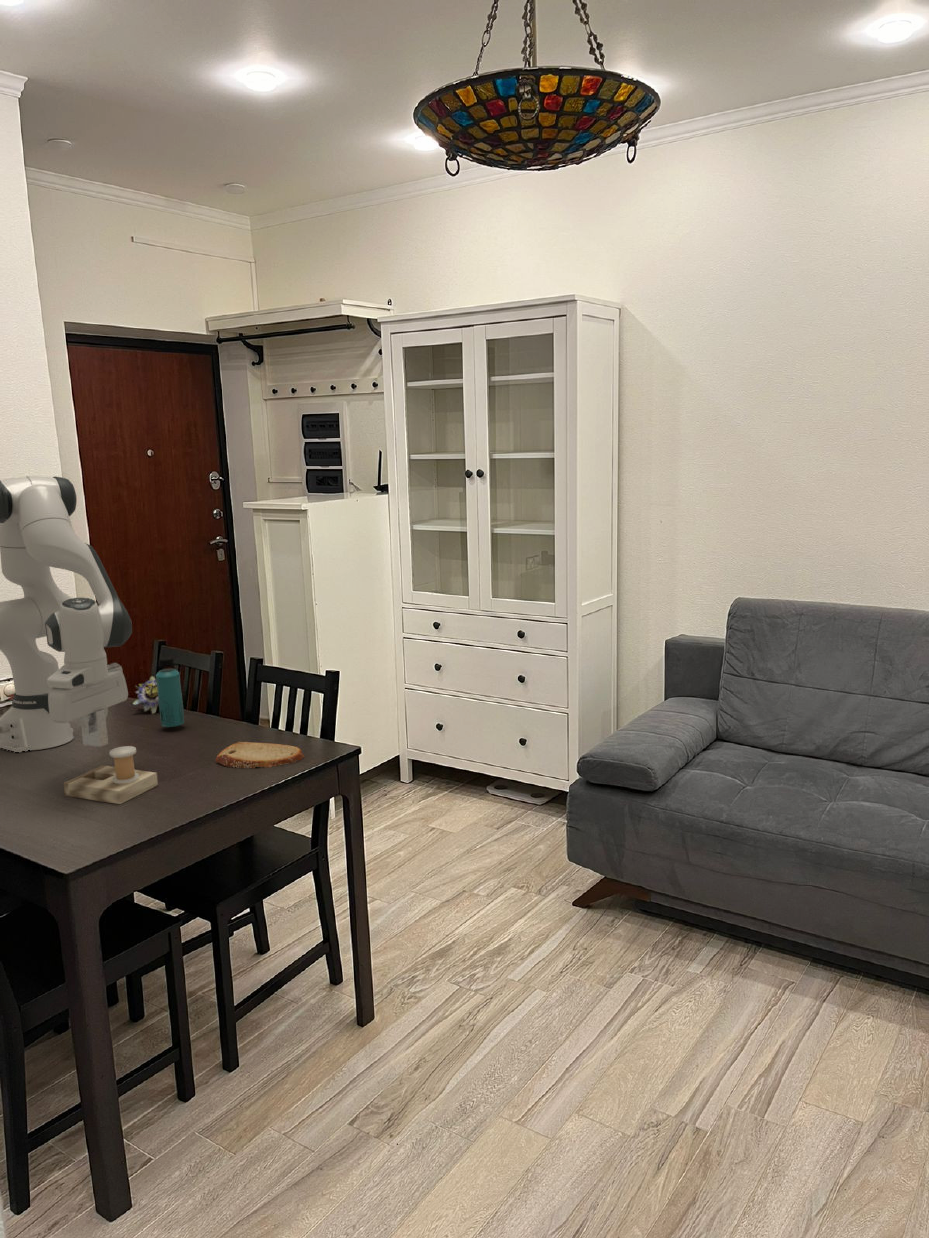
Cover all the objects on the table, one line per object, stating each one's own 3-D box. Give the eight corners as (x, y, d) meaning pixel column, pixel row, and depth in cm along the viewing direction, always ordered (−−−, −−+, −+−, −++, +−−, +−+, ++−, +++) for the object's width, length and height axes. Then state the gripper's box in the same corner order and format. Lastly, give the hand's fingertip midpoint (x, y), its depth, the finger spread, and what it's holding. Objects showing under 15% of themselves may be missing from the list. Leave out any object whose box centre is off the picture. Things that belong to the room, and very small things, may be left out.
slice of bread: (310, 759, 231) (309, 745, 230) (243, 778, 220) (242, 763, 219) (273, 743, 245) (272, 729, 244) (208, 760, 233) (207, 746, 232)
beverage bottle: (190, 727, 260) (184, 656, 256) (171, 733, 254) (164, 661, 251) (174, 723, 263) (167, 654, 260) (155, 730, 258) (148, 659, 254)
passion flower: (156, 731, 276) (128, 704, 270) (152, 715, 285) (125, 688, 279) (187, 706, 277) (160, 679, 271) (182, 691, 286) (156, 664, 280)
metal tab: (83, 744, 213) (79, 710, 212) (91, 741, 215) (87, 707, 214) (100, 746, 211) (96, 712, 210) (108, 743, 213) (104, 709, 212)
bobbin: (107, 782, 210) (103, 752, 209) (125, 774, 215) (122, 745, 214) (126, 785, 208) (123, 755, 207) (144, 777, 213) (141, 747, 212)
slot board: (64, 795, 212) (63, 782, 211) (104, 777, 223) (102, 765, 222) (120, 804, 206) (118, 791, 205) (157, 785, 216) (156, 772, 216)
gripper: (110, 659, 221) (116, 716, 223) (40, 681, 202) (48, 743, 205) (131, 661, 218) (137, 718, 221) (62, 683, 200) (70, 745, 202)
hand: (93, 730), depth 213 cm, fingers closed on metal tab, 2 cm apart
